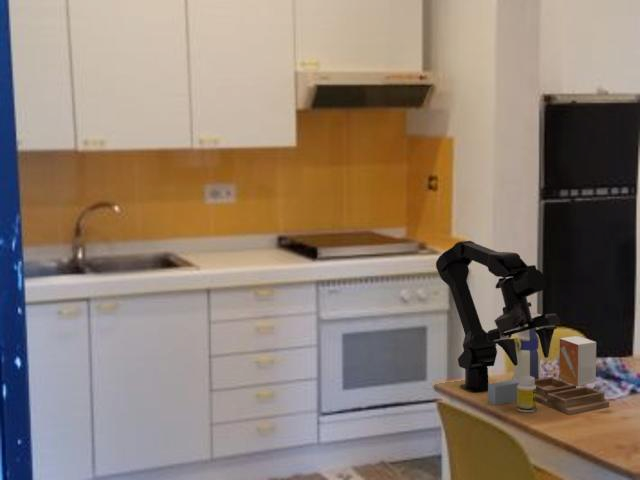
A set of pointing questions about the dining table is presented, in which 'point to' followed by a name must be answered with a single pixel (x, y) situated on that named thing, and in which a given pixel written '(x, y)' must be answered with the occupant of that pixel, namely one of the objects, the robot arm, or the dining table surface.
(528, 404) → the supplement bottle
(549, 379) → the jig
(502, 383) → the blue-gray rectangular block
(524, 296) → the robot arm
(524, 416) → the dining table surface
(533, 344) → the water bottle
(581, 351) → the small box
